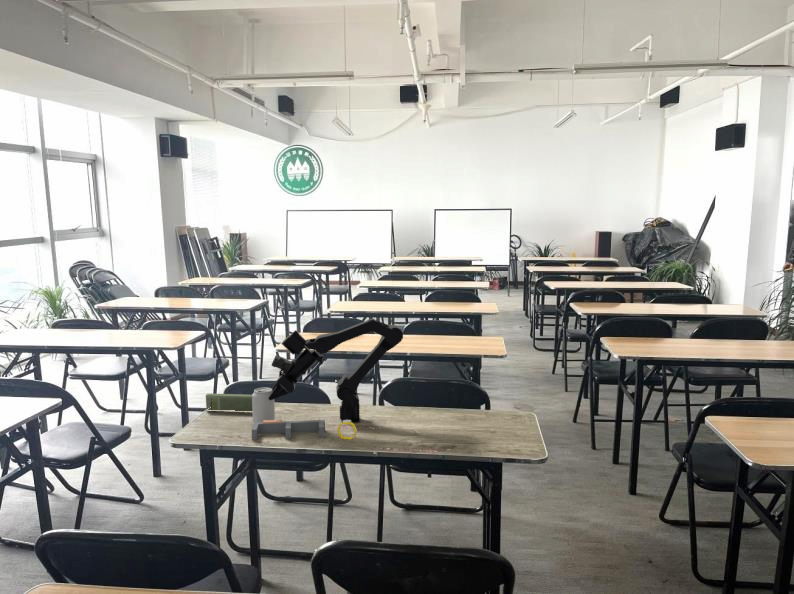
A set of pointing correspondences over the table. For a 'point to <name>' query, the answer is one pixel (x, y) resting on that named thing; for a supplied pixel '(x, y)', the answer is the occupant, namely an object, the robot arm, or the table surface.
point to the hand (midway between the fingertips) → (270, 395)
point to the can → (262, 405)
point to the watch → (347, 423)
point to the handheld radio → (229, 402)
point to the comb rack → (287, 427)
